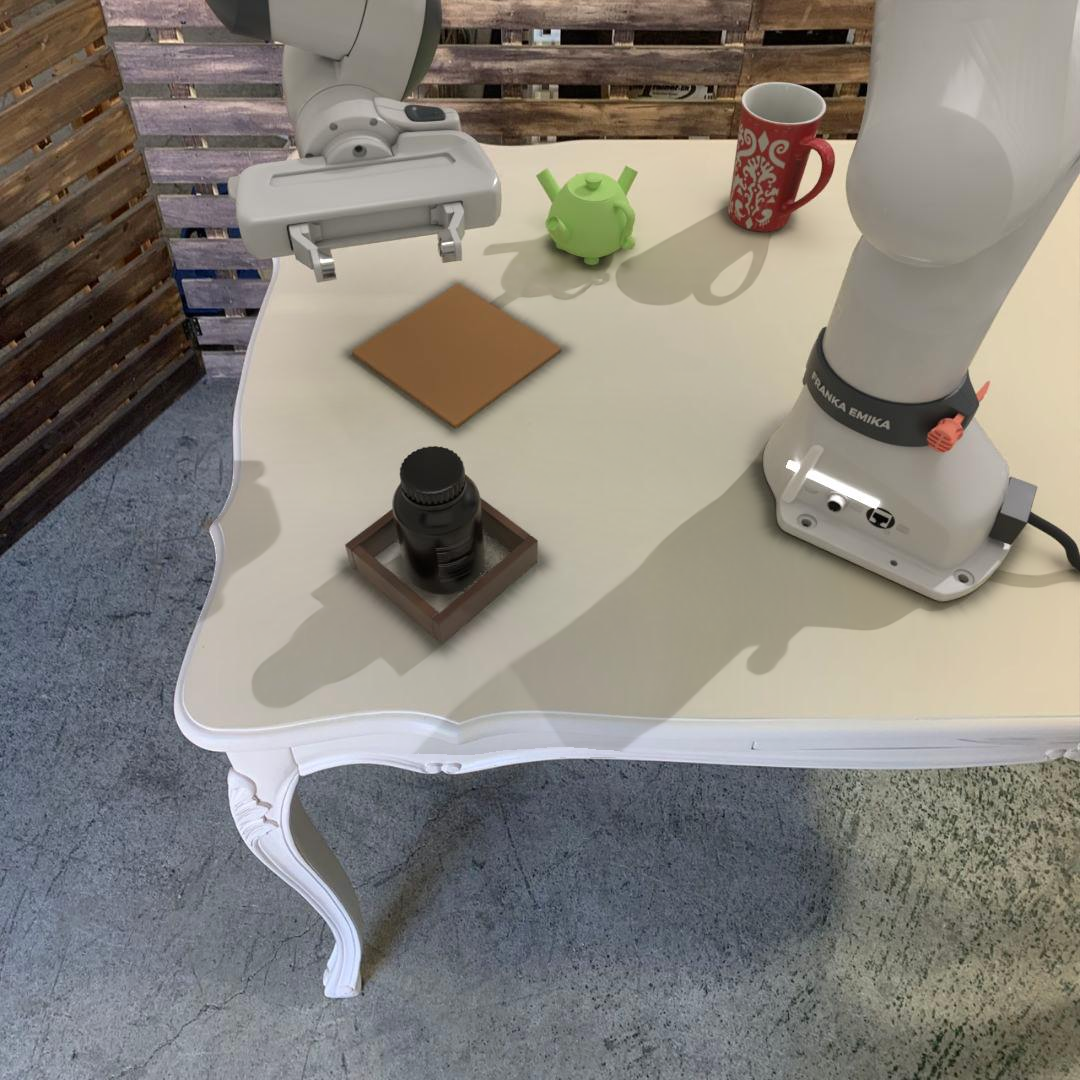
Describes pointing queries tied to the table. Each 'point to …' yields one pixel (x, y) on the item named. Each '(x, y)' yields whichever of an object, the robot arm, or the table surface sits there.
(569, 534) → the table surface
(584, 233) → the teapot
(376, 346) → the cork mat
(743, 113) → the mug
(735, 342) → the table surface
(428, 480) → the supplement bottle
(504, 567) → the frame
